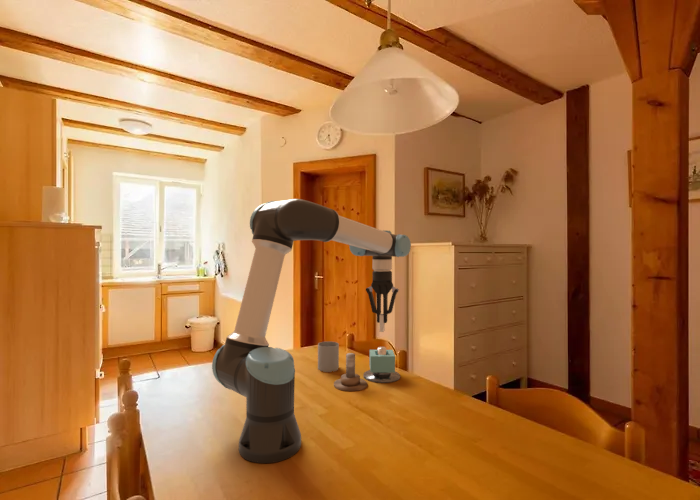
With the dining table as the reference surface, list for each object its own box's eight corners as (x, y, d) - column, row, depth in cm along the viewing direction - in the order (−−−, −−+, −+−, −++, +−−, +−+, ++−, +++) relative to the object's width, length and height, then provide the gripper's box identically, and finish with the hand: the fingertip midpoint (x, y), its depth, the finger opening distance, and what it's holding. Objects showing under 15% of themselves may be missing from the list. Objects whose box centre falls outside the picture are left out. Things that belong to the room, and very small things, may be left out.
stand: (367, 391, 131) (368, 359, 131) (333, 391, 131) (333, 359, 131) (366, 379, 143) (366, 349, 143) (334, 378, 143) (334, 349, 143)
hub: (402, 383, 139) (402, 352, 139) (364, 382, 139) (364, 352, 139) (397, 370, 153) (397, 343, 153) (362, 370, 153) (362, 342, 153)
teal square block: (394, 372, 141) (395, 356, 141) (370, 372, 141) (370, 356, 141) (392, 364, 150) (392, 349, 150) (369, 364, 150) (369, 349, 150)
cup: (316, 366, 158) (316, 342, 157) (335, 364, 160) (335, 340, 160) (320, 372, 150) (320, 347, 149) (340, 370, 152) (340, 345, 152)
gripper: (400, 270, 149) (400, 330, 150) (368, 269, 153) (368, 327, 153) (397, 271, 142) (397, 334, 142) (363, 270, 146) (363, 332, 146)
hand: (382, 331), depth 148 cm, fingers closed
